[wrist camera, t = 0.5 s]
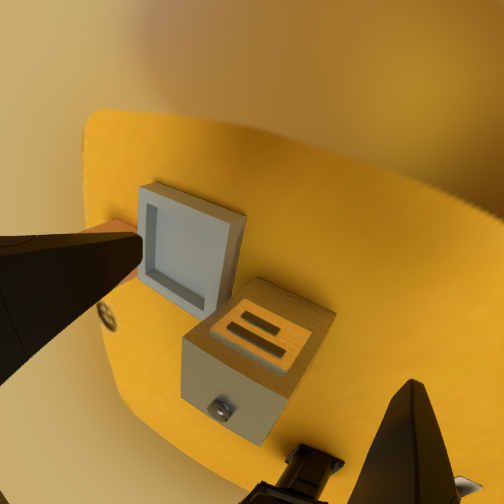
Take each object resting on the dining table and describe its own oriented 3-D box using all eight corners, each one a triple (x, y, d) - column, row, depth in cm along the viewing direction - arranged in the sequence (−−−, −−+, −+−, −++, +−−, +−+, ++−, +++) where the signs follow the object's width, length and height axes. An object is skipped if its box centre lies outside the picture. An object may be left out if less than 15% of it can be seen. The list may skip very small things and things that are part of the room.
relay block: (144, 272, 31) (92, 299, 25) (119, 255, 33) (70, 277, 27) (144, 233, 29) (86, 257, 23) (118, 218, 31) (64, 237, 25)
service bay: (226, 315, 26) (213, 327, 25) (152, 271, 30) (137, 278, 28) (246, 216, 22) (230, 223, 20) (156, 182, 25) (139, 186, 24)
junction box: (306, 373, 24) (254, 454, 16) (241, 339, 27) (175, 404, 19) (338, 309, 20) (286, 403, 13) (258, 272, 23) (175, 337, 15)
